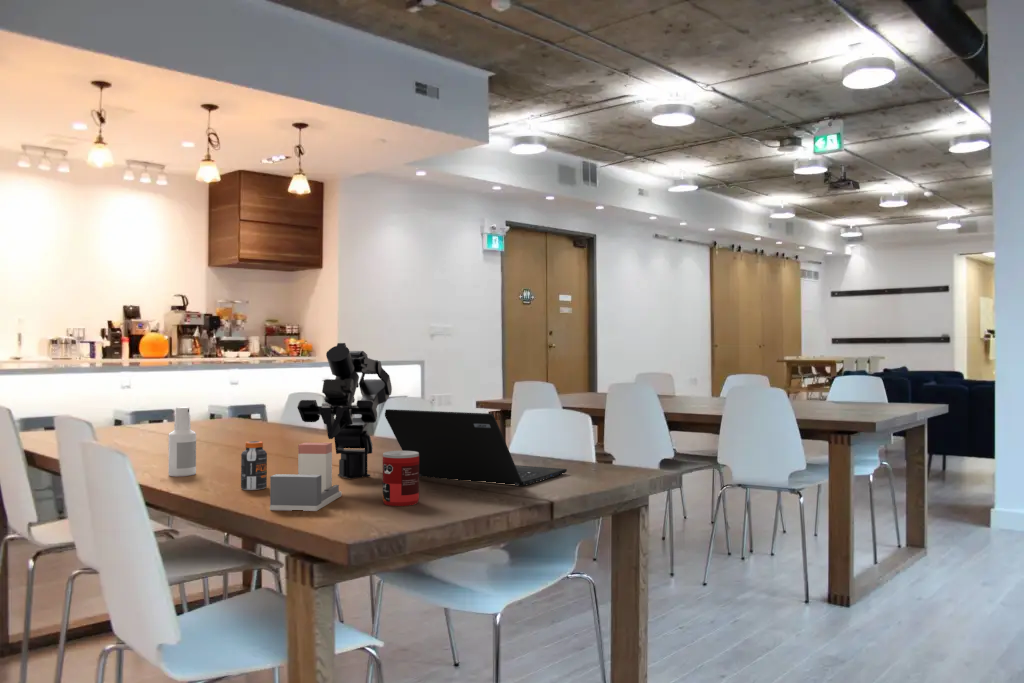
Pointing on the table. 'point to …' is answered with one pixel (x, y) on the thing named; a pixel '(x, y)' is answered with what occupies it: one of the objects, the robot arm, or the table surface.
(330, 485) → the cream and pink block
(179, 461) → the spray bottle
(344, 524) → the table surface
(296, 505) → the grey and white holder
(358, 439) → the robot arm
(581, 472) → the table surface
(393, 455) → the canned food
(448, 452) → the laptop
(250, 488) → the pill bottle
